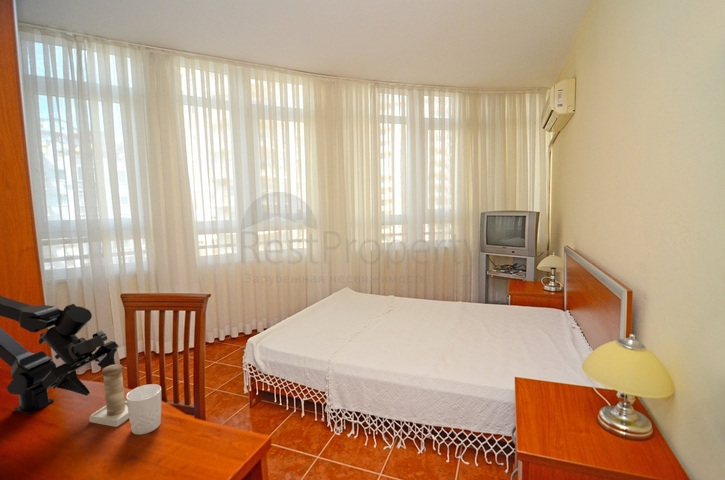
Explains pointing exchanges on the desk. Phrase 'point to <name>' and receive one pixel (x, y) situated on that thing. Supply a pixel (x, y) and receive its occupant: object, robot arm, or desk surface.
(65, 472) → the desk surface
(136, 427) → the white cup
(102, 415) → the tray
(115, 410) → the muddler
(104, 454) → the desk surface
